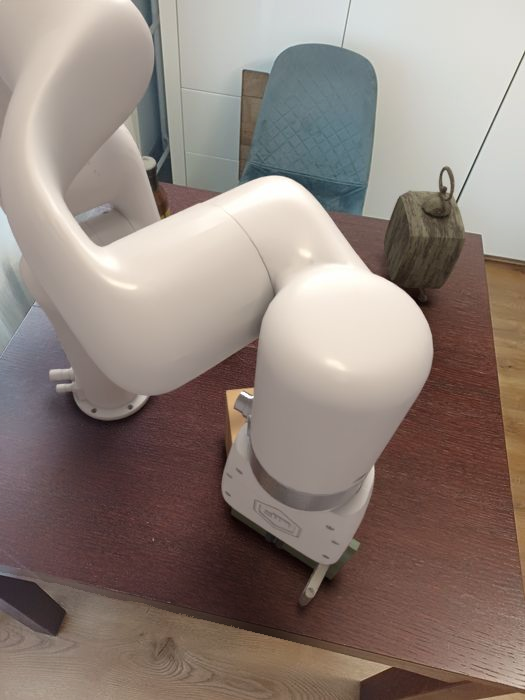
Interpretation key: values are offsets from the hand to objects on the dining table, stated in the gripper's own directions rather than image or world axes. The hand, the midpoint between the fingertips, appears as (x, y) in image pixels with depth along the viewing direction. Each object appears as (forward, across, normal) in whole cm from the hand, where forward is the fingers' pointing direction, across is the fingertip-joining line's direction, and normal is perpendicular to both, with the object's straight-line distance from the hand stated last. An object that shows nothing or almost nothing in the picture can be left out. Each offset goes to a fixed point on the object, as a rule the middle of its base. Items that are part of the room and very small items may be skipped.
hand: (281, 529), depth 45 cm
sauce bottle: (+25, -51, +42) cm, 70 cm away
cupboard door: (+25, 0, +3) cm, 25 cm away
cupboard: (+25, -6, +15) cm, 30 cm away
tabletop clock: (+25, -6, +63) cm, 68 cm away
